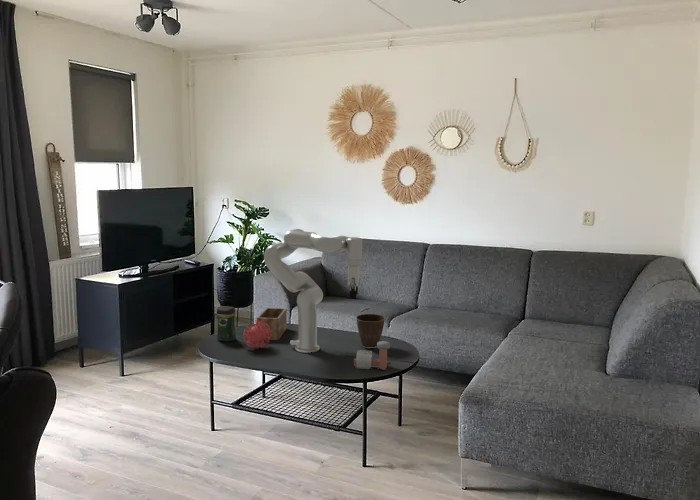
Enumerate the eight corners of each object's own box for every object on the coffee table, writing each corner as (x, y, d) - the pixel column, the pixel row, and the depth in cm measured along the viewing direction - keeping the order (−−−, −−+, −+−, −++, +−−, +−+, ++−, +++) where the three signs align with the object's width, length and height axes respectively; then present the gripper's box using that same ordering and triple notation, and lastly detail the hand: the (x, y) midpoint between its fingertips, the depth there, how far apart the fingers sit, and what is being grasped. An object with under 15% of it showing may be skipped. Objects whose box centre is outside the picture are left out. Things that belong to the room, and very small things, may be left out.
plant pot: (387, 350, 294) (388, 320, 292) (359, 352, 291) (359, 322, 289) (379, 342, 308) (380, 313, 306) (353, 343, 305) (353, 314, 303)
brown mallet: (353, 368, 267) (353, 344, 265) (354, 363, 274) (355, 339, 272) (389, 370, 266) (389, 345, 264) (389, 365, 273) (390, 341, 271)
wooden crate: (256, 339, 310) (256, 317, 308) (266, 327, 332) (266, 307, 330) (278, 340, 309) (278, 318, 307) (286, 328, 331) (286, 308, 329)
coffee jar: (238, 338, 311) (237, 305, 308) (230, 342, 303) (230, 308, 300) (222, 336, 313) (221, 303, 311) (214, 340, 306) (214, 307, 303)
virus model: (275, 344, 301) (274, 317, 299) (266, 353, 286) (266, 325, 284) (248, 343, 303) (247, 315, 301) (238, 352, 289) (238, 323, 286)
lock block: (356, 368, 267) (356, 354, 266) (357, 364, 274) (357, 350, 273) (371, 369, 267) (371, 355, 266) (371, 364, 273) (372, 350, 272)
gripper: (348, 259, 288) (347, 292, 291) (344, 265, 271) (344, 300, 274) (362, 259, 288) (362, 292, 290) (360, 265, 271) (359, 300, 273)
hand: (353, 296), depth 282 cm, fingers open, 9 cm apart
